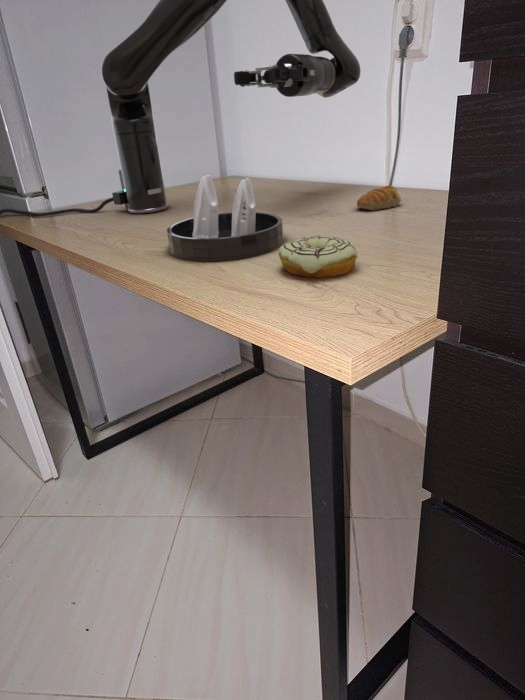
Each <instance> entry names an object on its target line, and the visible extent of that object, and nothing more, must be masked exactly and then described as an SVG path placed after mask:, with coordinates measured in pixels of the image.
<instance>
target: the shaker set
mask: <svg viewBox="0 0 525 700" xmlns="http://www.w3.org/2000/svg"><path fill="white" fill-rule="evenodd" d="M256 205H257V204H256V199H255V194H254V189H253V185H252V181H251V179H250V178H249V177H246V178H245V179H244V178H243V179H241V181H240V182H239V185H238V186H237V190H236V192H235V196H234V199H233V203H232V209H231V212H232V233H231V236H240V235H245V234H250V233H255V222H256V212H257V206H256ZM218 213H219V201H218V196H217V191H216V186H215V183H214V180H213V177H212V175H211V174H207V175H204V176H202V177H201V179H200V180H199V184H198V187H197V190H196V194H195V197H194V203H193V218H194V229H193V235H192V236H193V237H192V238H218V235H219V230H218Z"/></svg>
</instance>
